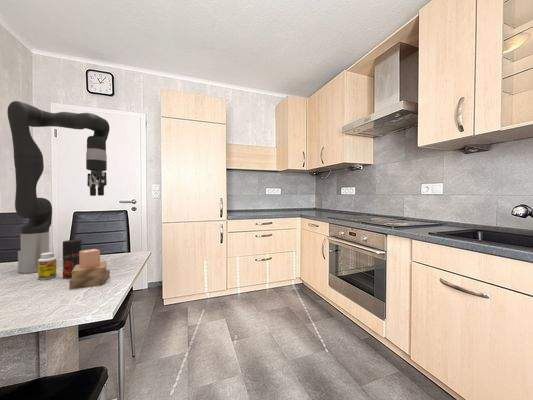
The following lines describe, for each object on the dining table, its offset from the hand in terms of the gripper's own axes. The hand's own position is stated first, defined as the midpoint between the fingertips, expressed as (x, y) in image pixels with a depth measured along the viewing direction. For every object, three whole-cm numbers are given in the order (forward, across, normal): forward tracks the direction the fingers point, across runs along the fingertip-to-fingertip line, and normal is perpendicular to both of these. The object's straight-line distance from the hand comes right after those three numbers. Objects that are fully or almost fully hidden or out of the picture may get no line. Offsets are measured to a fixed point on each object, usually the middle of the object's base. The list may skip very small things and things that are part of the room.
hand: (96, 195), depth 105 cm
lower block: (+35, -16, +8) cm, 39 cm away
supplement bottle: (+34, +6, +16) cm, 38 cm away
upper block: (+31, -15, +8) cm, 36 cm away
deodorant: (+34, -1, +9) cm, 36 cm away
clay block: (+28, -16, +8) cm, 33 cm away
